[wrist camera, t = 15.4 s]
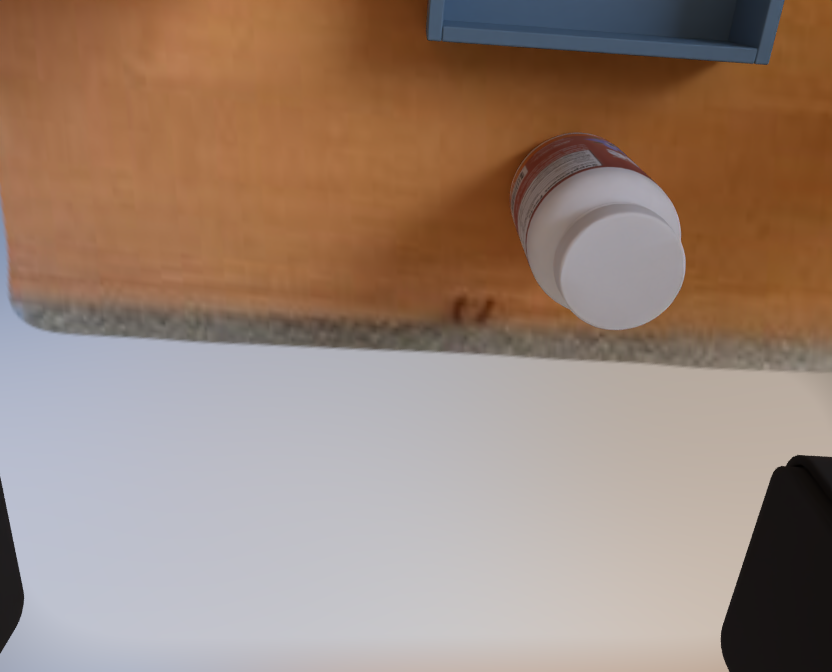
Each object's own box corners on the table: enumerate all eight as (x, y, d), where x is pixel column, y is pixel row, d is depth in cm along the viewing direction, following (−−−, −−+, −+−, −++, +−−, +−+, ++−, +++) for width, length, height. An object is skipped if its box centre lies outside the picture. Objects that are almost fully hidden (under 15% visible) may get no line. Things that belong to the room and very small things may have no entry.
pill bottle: (652, 214, 39) (733, 303, 29) (541, 272, 40) (583, 376, 30) (601, 104, 37) (670, 159, 27) (485, 169, 38) (510, 245, 28)
